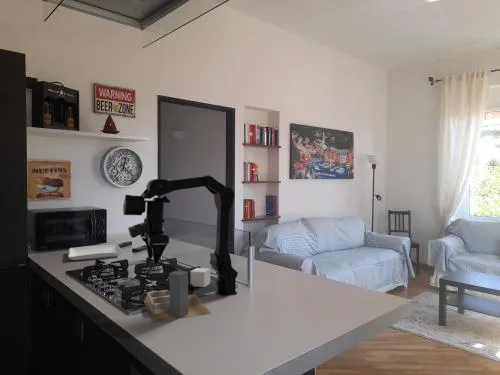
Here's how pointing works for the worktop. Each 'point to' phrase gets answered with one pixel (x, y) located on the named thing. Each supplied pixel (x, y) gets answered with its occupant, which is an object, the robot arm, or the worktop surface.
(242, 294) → the worktop surface
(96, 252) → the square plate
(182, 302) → the tall gray block
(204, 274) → the white cube
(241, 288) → the worktop surface
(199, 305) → the cord organiser
